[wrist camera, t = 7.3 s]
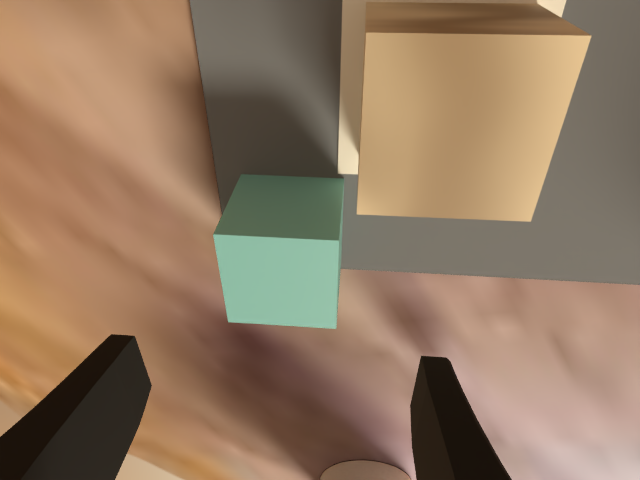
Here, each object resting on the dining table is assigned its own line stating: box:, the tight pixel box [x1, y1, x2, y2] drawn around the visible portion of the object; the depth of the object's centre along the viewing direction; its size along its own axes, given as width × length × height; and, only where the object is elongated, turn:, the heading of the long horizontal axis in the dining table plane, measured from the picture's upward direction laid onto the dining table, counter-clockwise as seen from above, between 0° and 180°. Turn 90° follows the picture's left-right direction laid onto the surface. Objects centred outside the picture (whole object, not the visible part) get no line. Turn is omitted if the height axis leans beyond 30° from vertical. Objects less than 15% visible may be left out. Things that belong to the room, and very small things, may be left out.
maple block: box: [357, 2, 591, 222], centre depth 13 cm, size 5×5×4 cm
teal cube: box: [213, 174, 344, 329], centre depth 17 cm, size 4×4×4 cm
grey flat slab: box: [190, 0, 640, 285], centre depth 15 cm, size 18×18×1 cm
